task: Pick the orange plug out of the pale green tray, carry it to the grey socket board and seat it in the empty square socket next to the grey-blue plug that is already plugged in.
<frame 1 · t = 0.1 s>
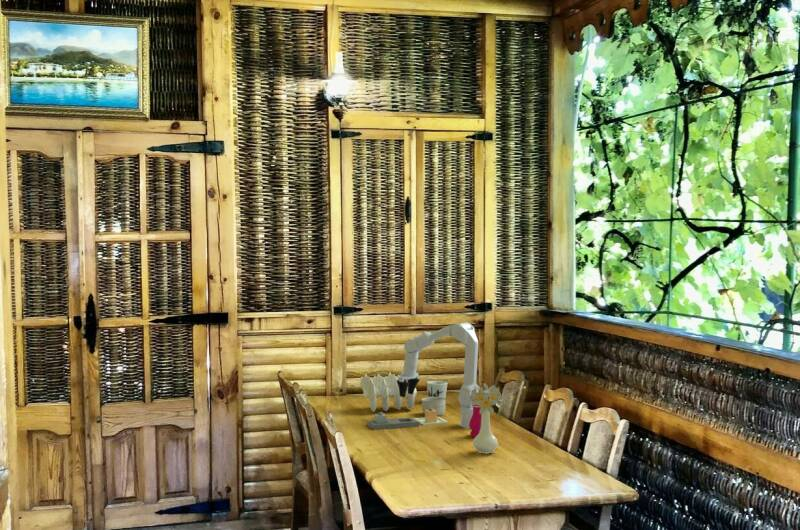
hand: (406, 395, 379), 11 cm above the table, tool pointing down, fingers open, 7 cm apart
seated twin plug: (380, 426, 361), resting on grey socket board
flower vase: (486, 453, 318), on the table
teacup: (435, 415, 388), on the table
grey socket board: (392, 426, 363), on the table
mug: (438, 402, 420), on the table
orange plug: (430, 421, 371), resting on tray
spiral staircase: (390, 411, 399), on the table
tray: (430, 422, 371), on the table
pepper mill: (478, 436, 345), on the table
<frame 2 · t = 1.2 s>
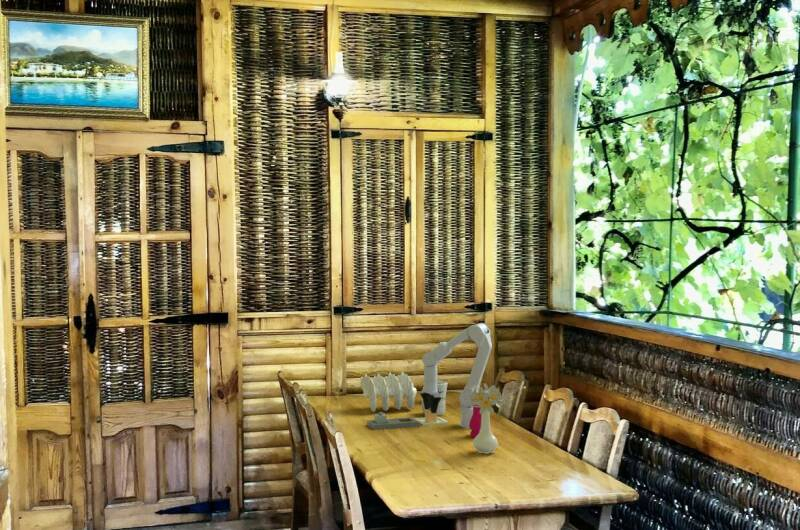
hand: (430, 411, 371), 5 cm above the table, tool pointing down, fingers open, 7 cm apart
nothing on the table moved.
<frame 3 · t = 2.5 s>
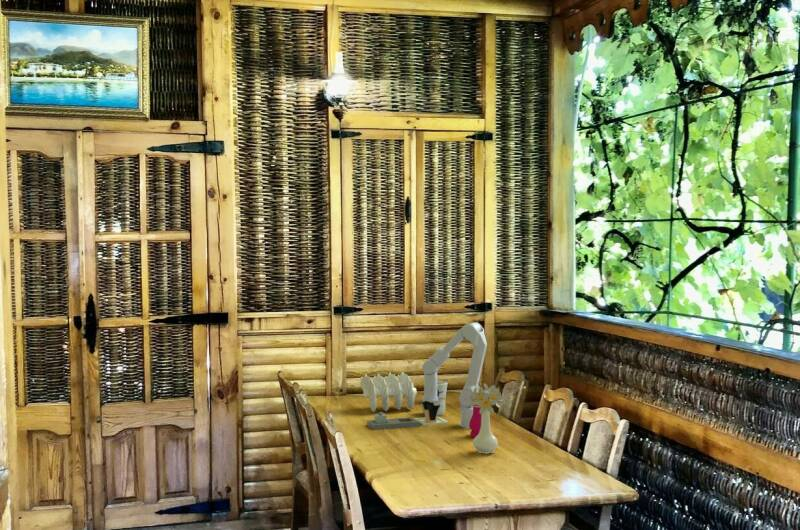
hand: (430, 419, 371), 2 cm above the table, tool pointing down, fingers closed on orange plug, 4 cm apart
orange plug: (430, 421, 371), resting on tray, touching gripper
everything else where it was.
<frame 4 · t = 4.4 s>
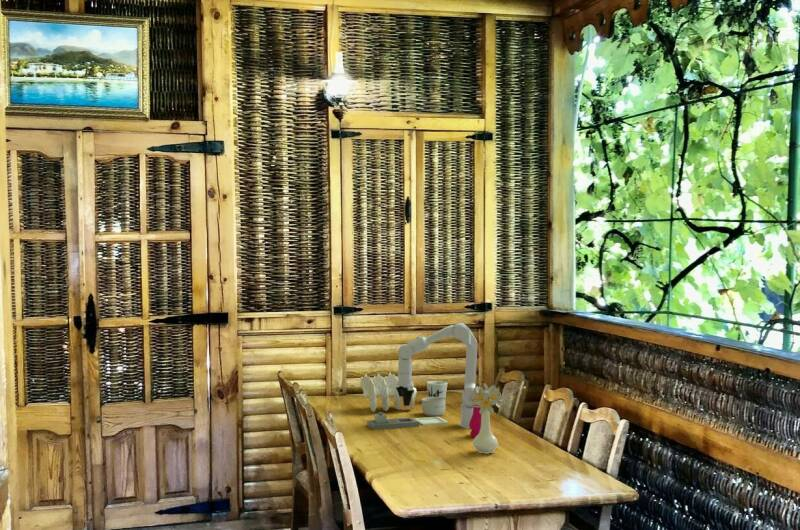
hand: (405, 404, 365), 9 cm above the table, tool pointing down, fingers closed on orange plug, 4 cm apart
orange plug: (405, 408, 365), point 7 cm above the table, touching gripper
everything else where it was.
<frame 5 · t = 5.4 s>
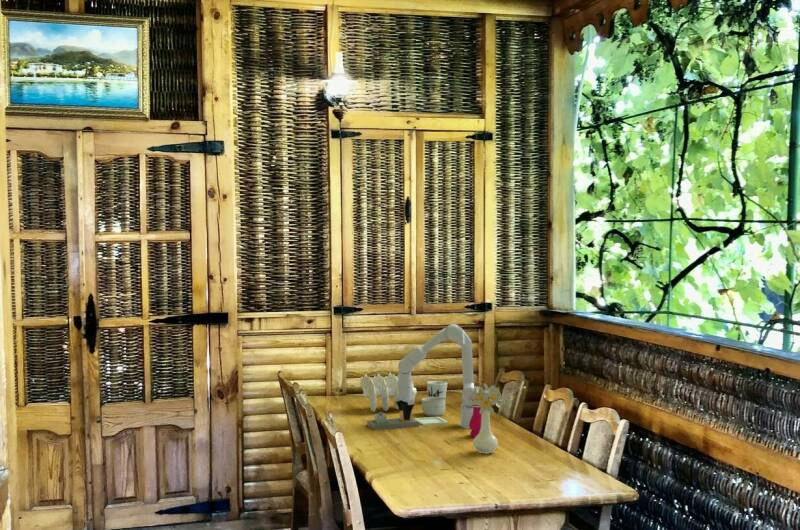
hand: (405, 418, 365), 3 cm above the table, tool pointing down, fingers closed on orange plug, 4 cm apart
orange plug: (405, 423, 365), point 1 cm above the table, touching gripper
everything else where it was.
when the fingers open (3 cm above the table, at t = 6.1 s): orange plug stays where it is, resting on grey socket board.
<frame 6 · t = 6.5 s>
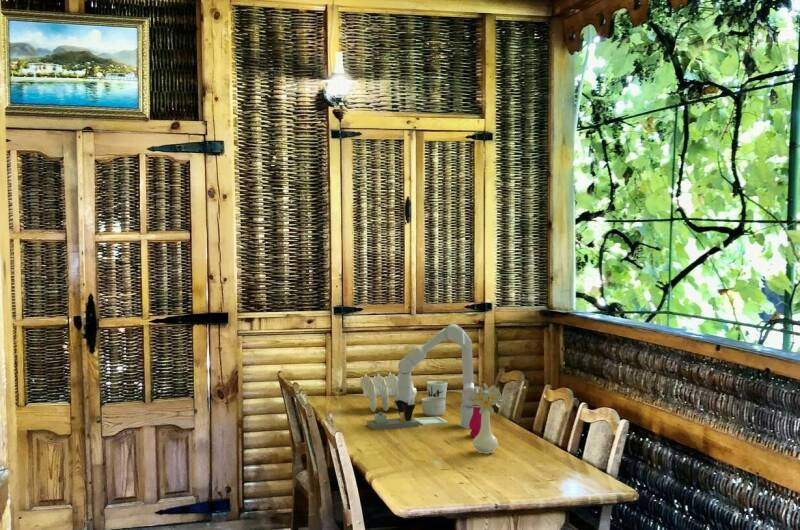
hand: (405, 418, 365), 3 cm above the table, tool pointing down, fingers open, 7 cm apart
orange plug: (405, 424, 365), resting on grey socket board
everything else where it was.
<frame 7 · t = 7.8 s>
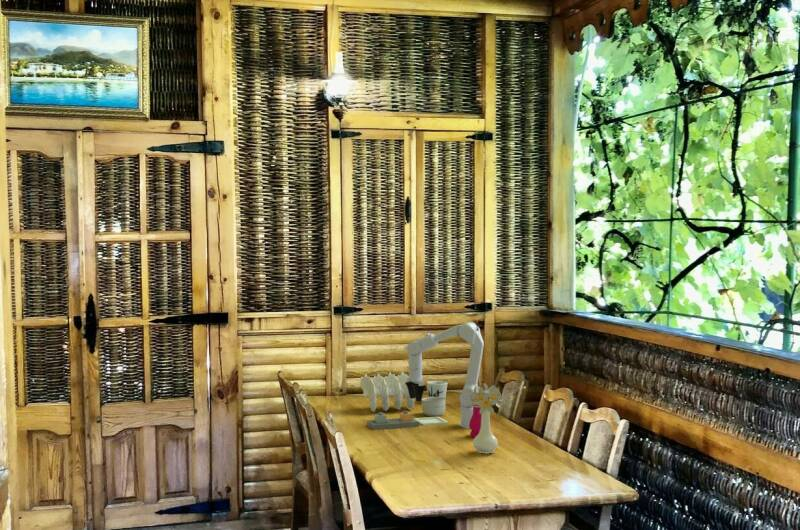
hand: (415, 399, 372), 10 cm above the table, tool pointing down, fingers open, 7 cm apart
nothing on the table moved.
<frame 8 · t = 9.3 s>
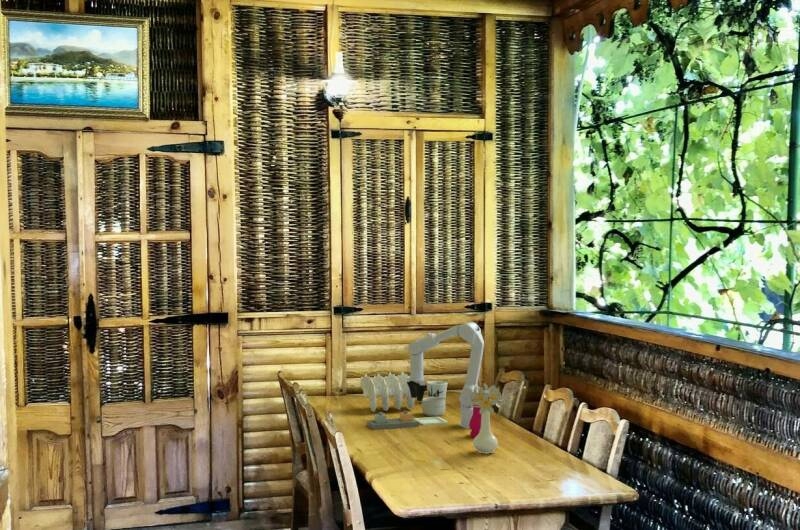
hand: (416, 399, 373), 10 cm above the table, tool pointing down, fingers open, 7 cm apart
nothing on the table moved.
at the end: orange plug 0.3 cm from the target spot on the grey socket board, point 0.4 cm above the grey socket board's base; orange plug tilted 0°; the gripper is holding nothing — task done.
